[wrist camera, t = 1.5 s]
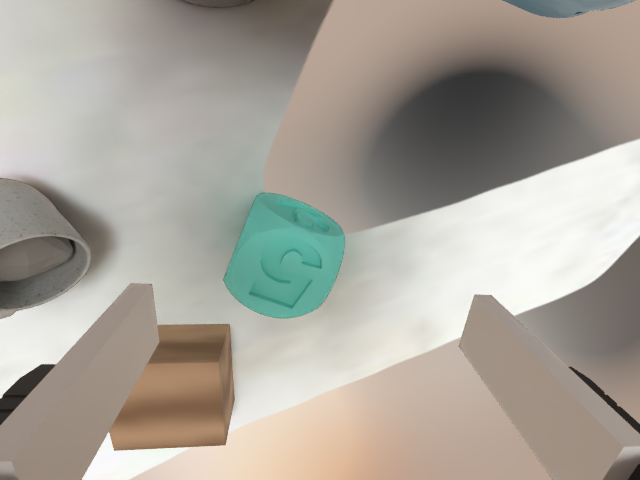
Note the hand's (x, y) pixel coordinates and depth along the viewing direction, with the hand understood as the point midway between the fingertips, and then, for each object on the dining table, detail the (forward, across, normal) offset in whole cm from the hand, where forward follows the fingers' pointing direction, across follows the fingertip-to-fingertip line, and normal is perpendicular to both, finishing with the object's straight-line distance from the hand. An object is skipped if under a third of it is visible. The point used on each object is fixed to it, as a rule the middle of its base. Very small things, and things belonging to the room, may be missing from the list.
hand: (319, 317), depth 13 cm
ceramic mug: (+19, -23, -5) cm, 30 cm away
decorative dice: (+19, -2, -4) cm, 19 cm away
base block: (+18, -12, -20) cm, 30 cm away
